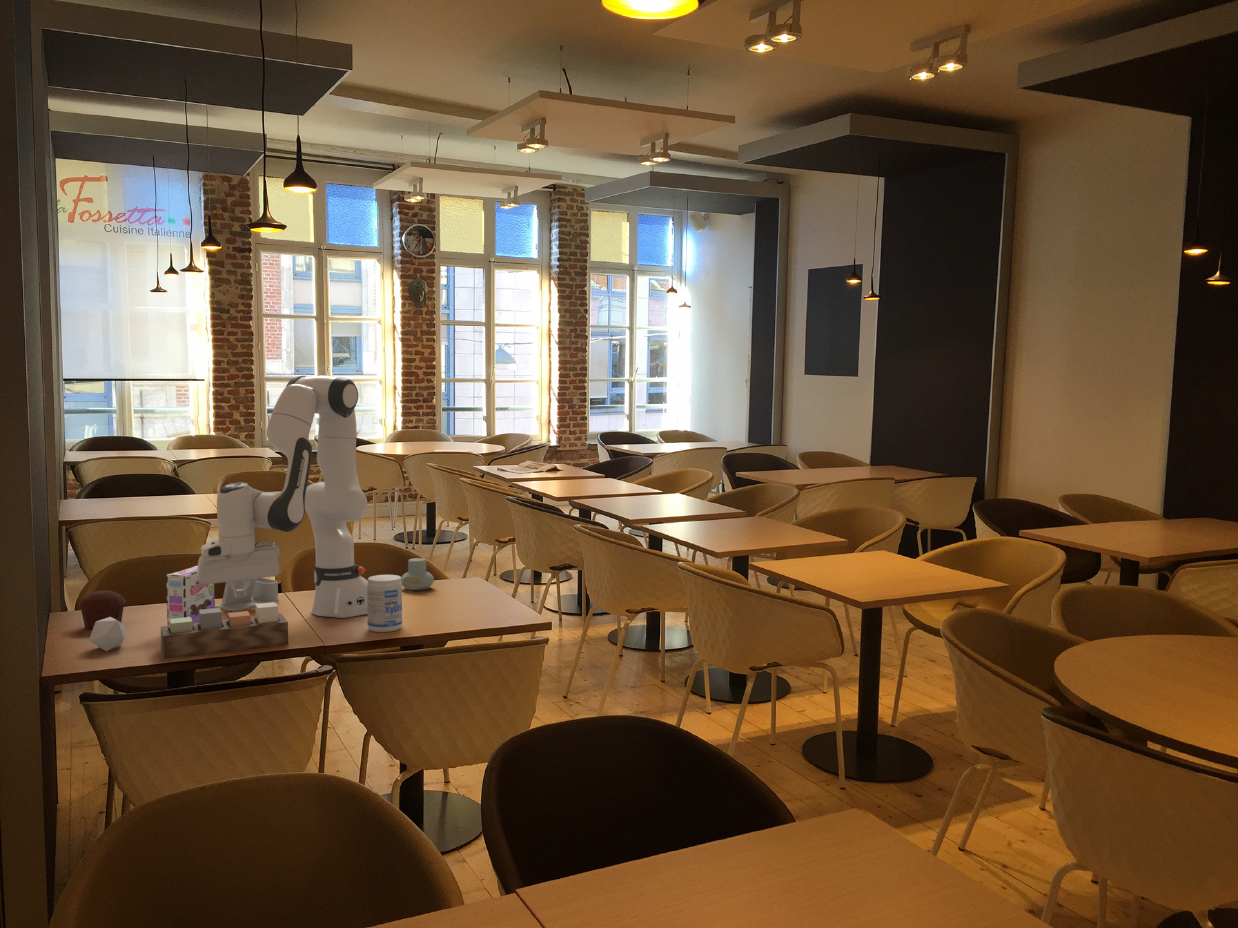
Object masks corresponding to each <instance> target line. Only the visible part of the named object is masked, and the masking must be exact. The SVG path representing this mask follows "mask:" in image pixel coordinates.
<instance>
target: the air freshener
mask: <svg viewBox="0 0 1238 928" xmlns="http://www.w3.org/2000/svg"><path fill="white" fill-rule="evenodd" d="M407 561H408V563H407V565H408V566H407V572H405V573H403V575H402V576H400V577H401V581H402V588H404V589H407V590H409V591H411V590H420V591H425V590H426V589H429V588H430V587H431V586H433V584H434V581H435V577H434V576H433V574H431V573H430V571H427V559H425V558H422V557H421V558H420V557H417V558H415V557H414V558H409V559H408V560H407Z"/></svg>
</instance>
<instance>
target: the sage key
mask: <svg viewBox="0 0 1238 928" xmlns="http://www.w3.org/2000/svg"><path fill="white" fill-rule="evenodd" d="M185 631H193V622H192V619H191V617H185V618H175V619H170V633H176V632H185Z"/></svg>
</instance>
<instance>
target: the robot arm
mask: <svg viewBox="0 0 1238 928" xmlns="http://www.w3.org/2000/svg"><path fill="white" fill-rule="evenodd" d="M358 400H359V390H358V388H357V386H356V384H355V382H354V381H353V380H351V379H349V378H347V377H343V376H332V375H325V374H324V375H310V376H309V375H308V376H306V375H300V376H295V377H292V379H290V380H289V381H288V383H287V384H286V386H285V387H284V389H283V390H282V392H281V393H280V395H279V397H278V399H277V401H276V402H275V405H274V407H273V409H272V412H271V415H270V418H269V420H268V423H267V427H266V437H267V440H268V442H269V443H270V445H271V446H272V447H273V448H274V449H275V450H277V451H278V452H280V453H281V454H283V455H284V456H285V457H286V458H287V462H288V463H287V464H288V465H287V469H286V470H287V471H286V475H285V480H284V485H283V488H282V490H280V492H268V491H262V490H260V489H259V490H258V489H256V488H253V487H252V486H250V485H249V484H248V483H247V482H242V481H241V482H233V483H228V484H225V485H223V486H222V487H220V489H219V490H218V493H217V499H216V515H217V522H218V526H219V529H218V535H217V536H218V539H215V540H213V541H210V542H208V543H205V544H203V545H201V547H200V552H201V555H200V556H199V558H198V561H197V566H198V567H197V580H198V582H199V583H200V584H201V585H205V584H213V583H214V584H221V583H226V582H229V585H230V586H231V588H232V589H233V590H234V597H235V598H236V597H244V596H247V594H246V590H247V588H248V587H249V585H250V579H257V578H270V577H271V578H272V577H277V576H278V575H279V574H280V571H281V570H280V563H279V559H278V558H279V557H278V556H280V554H279V549H280V547H279V545H278V544H277V543H275V542H273V541H268V542H256V538H255V537H256V535H255V534H256V533H255V528H262V529H272V530H276V531H280V532H287V533H289V532H291V531H294V530H295V529H297V528H298V527H299V526H300V524H301V523H302V522H303V520H304V517H305V512H306V513H307V516H308V519H309V521H310V524H311V529H312V532H313V533H312V534H313V537H314V543H315V544H314V545H315V566H314V571H313V572H314V573H313V575H314V585H315V590H314V597H313V598H314V599H313V605H312V608H311V611H310V612H311V614H312V615H314V616H319V617H327V618H328V617H332V618H339V619H345V618H351V617H357V616H363V615H368V597H367V585H368V584H367V583H368V579H366V578H364V577H363V576H361V575H363V574H364V573H365V572H366V569H365V567H364V566H360V565H358V564H356V563H355V548H354V547H355V545H354V544H355V543H354V541H355V540H354V538H353V536H352V534H351V532H350V530H349V529H348V526H347V523H349V522H350V523H351V522H355V521H359V520H360V519H361V518H362V517H364V515H365V513H366V512H367V510H368V499H367V496H366V494H365V493H364V492H363V490H362V488H361V485H360V482H359V477H358V472H357V463H356V461H357V460H356V457H357V456H356V453H357V452H356V451H357V434H358V433H357V419H356V412H355V408H356V406H357V405H358ZM315 414H319V417H320V419H319V425H318V433H317V434H318V435H317V446H316V447H317V450H316V451H317V452H316V462H317V465H318V467H319V469H320V471H321V473H322V477H323V481H321V482H315V483H311V484H309V485H308V482H309V477H310V472H311V467H312V466H311V465H312V460H313V459H312V458H313V447H312V444H311V441H310V432H311V428H312V426H313V422H314V418H315ZM255 548H256V549H255ZM277 557H278V558H277ZM239 580H244V583H245V585H244V587H243V589H237V590H236V588H235V587H234V586H233V585H235V581H239Z"/></svg>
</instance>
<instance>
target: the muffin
mask: <svg viewBox="0 0 1238 928" xmlns="http://www.w3.org/2000/svg"><path fill="white" fill-rule="evenodd" d="M126 602H127V600H125V598H124V597H123V596H122V595H121V594H120V593H117V592H115V591H113V590H108V589H107V590H95V591H94V592H91V593H89V594H87V595H86V596H84V597H83V598H82V599H81V602H80V603H79V605H78V608H80V610H81V615H82V620H83V624H84V628H85V629H86V630H88V631H92V630H93V627H94V625H95V622H96V621H99V620H102V619H105V618H108V617H112V618H114V619H116V620H118V621H119V622H121V623H122V620H123V612H124V605H125V604H126Z"/></svg>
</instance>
